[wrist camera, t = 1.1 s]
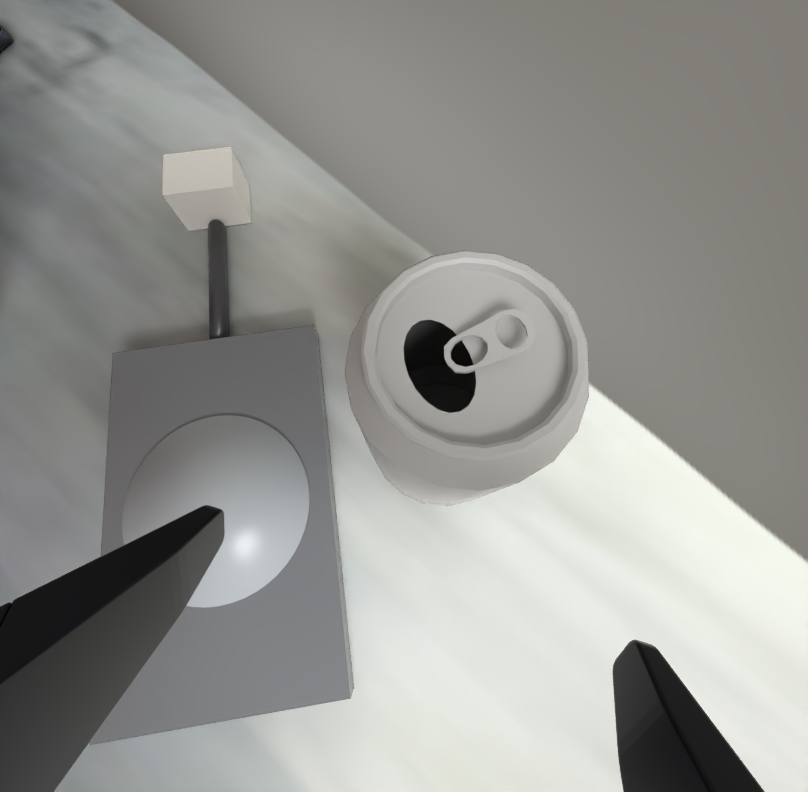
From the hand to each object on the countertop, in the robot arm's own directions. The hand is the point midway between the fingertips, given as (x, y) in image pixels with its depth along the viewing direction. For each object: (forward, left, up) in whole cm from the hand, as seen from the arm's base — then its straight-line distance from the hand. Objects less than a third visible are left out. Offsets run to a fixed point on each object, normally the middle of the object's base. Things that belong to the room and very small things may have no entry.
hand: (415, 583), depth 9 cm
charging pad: (+9, +9, -12) cm, 18 cm away
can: (+6, -3, -13) cm, 14 cm away
